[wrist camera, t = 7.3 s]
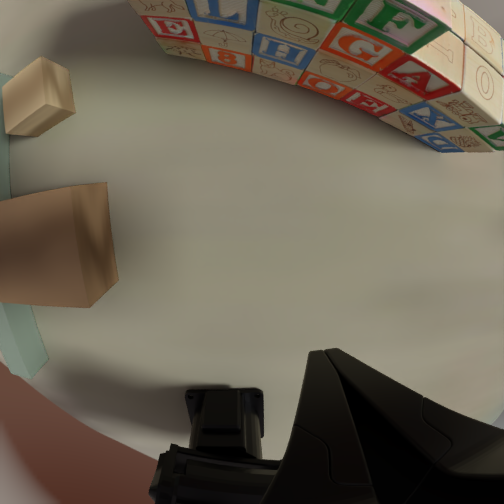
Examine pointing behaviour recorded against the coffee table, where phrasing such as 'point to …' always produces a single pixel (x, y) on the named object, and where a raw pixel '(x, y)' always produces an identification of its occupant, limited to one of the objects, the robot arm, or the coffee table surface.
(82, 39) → the coffee table surface
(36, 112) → the oak cube
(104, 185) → the walnut brick
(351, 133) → the coffee table surface
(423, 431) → the robot arm
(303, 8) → the stack of blocks
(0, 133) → the board
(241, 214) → the coffee table surface
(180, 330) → the coffee table surface
